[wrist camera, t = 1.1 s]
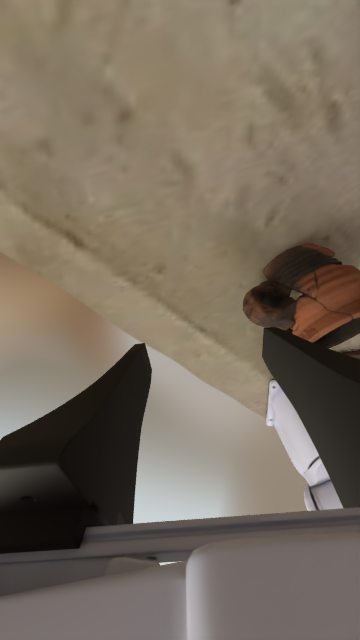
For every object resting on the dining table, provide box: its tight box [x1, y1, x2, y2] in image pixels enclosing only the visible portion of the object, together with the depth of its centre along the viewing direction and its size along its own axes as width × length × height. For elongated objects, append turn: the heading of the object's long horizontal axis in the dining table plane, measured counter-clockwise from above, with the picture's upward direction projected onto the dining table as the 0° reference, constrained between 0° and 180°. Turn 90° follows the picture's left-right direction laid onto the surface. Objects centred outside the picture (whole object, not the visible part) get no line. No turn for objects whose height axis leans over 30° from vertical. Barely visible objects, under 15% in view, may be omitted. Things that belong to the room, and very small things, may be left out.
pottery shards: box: [243, 244, 360, 349], centre depth 18 cm, size 12×9×8 cm
